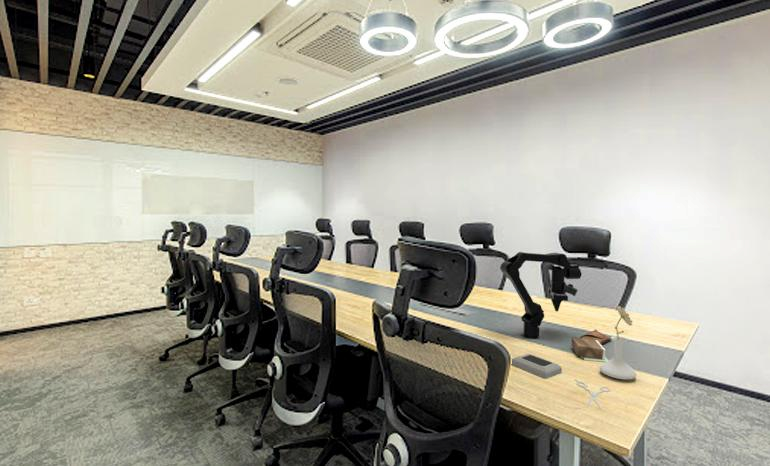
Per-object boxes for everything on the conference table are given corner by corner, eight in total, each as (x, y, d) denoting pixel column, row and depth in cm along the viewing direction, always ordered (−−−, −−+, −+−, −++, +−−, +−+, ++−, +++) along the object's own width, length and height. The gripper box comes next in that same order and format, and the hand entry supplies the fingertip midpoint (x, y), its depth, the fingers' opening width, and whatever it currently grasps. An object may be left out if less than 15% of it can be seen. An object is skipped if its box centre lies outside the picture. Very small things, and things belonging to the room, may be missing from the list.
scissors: (610, 386, 125) (614, 412, 107) (610, 388, 125) (614, 415, 107) (574, 379, 130) (573, 403, 112) (574, 381, 130) (573, 405, 112)
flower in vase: (637, 385, 126) (640, 313, 125) (598, 377, 132) (601, 308, 131) (635, 372, 137) (638, 305, 136) (599, 365, 143) (602, 301, 142)
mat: (581, 359, 148) (581, 357, 148) (573, 346, 164) (573, 344, 164) (609, 362, 146) (609, 360, 146) (598, 348, 161) (598, 347, 161)
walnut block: (578, 345, 150) (605, 350, 148) (572, 336, 162) (597, 340, 159) (577, 355, 151) (604, 359, 148) (571, 345, 162) (596, 349, 159)
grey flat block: (526, 351, 148) (561, 364, 135) (526, 360, 148) (561, 374, 135) (511, 356, 143) (546, 369, 130) (510, 365, 143) (546, 380, 130)
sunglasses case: (599, 347, 160) (590, 332, 162) (584, 352, 164) (576, 338, 167) (612, 338, 172) (604, 325, 174) (598, 343, 177) (590, 330, 179)
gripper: (580, 283, 166) (579, 317, 167) (572, 277, 184) (571, 308, 185) (554, 282, 169) (552, 315, 170) (548, 275, 187) (546, 306, 188)
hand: (556, 311), depth 178 cm, fingers closed
